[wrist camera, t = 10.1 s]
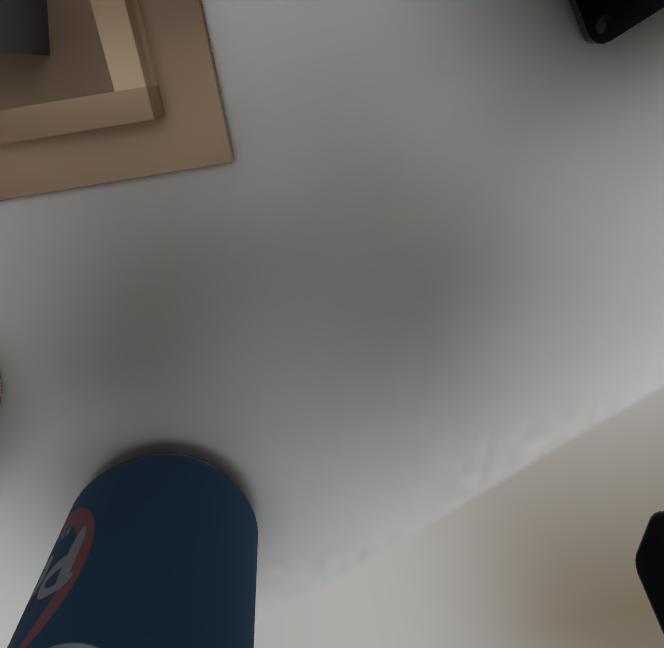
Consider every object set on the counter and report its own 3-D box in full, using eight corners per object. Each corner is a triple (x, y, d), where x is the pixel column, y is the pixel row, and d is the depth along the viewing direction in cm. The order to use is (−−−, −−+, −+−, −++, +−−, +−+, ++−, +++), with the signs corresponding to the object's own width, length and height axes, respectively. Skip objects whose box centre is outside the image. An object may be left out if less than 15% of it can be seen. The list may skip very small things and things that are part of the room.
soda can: (70, 436, 22) (-135, 802, 11) (261, 438, 23) (248, 784, 12) (85, 580, 25) (-68, 992, 14) (256, 578, 25) (242, 967, 14)
